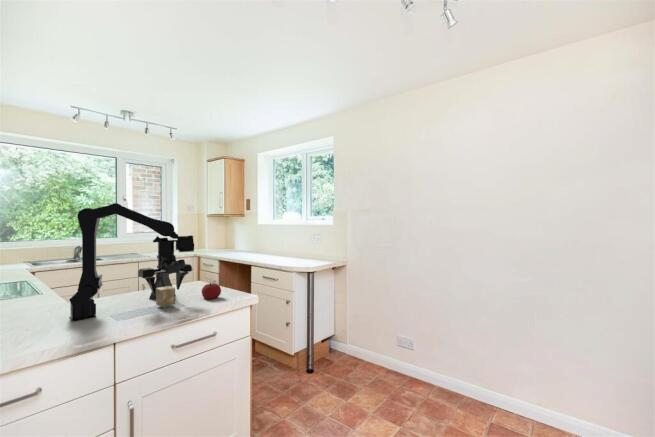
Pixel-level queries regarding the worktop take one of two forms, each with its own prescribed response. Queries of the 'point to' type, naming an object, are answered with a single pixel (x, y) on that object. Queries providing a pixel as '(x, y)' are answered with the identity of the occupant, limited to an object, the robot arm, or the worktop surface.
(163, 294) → the wooden block
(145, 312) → the board
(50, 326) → the worktop surface
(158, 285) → the phone stand
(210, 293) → the red apple
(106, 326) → the worktop surface
